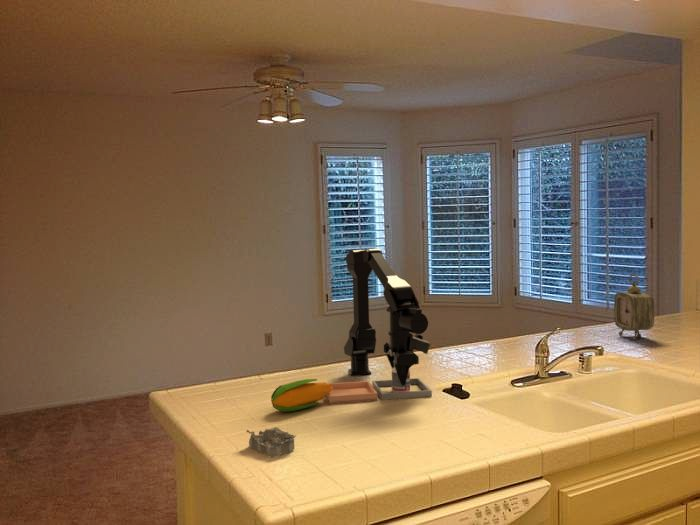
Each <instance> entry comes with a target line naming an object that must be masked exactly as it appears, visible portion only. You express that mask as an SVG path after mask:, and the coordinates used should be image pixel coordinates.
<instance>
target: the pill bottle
mask: <svg viewBox="0 0 700 525" xmlns="http://www.w3.org/2000/svg"><path fill="white" fill-rule="evenodd" d="M394 362H395V361H394ZM410 369H411V368H410ZM410 369H409V372H408V376H407V380H406V384H405V385H401V383H400V380H399V378H398V375H397V372H396V369H395V367H394V368H393V369H392V368H391V380H392V386H391V391H392V393H393V392H408V391H411V384H410V379H411V371H410Z"/></svg>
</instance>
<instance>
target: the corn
mask: <svg viewBox="0 0 700 525" xmlns="http://www.w3.org/2000/svg"><path fill="white" fill-rule="evenodd" d="M315 381H318V378H307V379H301V380H296V381H293V382H289V383H286V384H281V385H279V386H277V387H276V388H275V390H274V391H273V392H272V394H271V398H270V402H271V405H272V407H273V408H274V409H275V410H277V411H279V412H283V413H291V412H295V411H298V410H304V409H308V408H311V407H312V406H315V405H317V404H319V401H321V400H323V399H324V398H326V397H327V396H326V395H327V394H329V393H330V392H331V391H332V390H333V386H331V385H329V384H330V383H327V382H315Z"/></svg>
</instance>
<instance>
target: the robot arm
mask: <svg viewBox="0 0 700 525" xmlns="http://www.w3.org/2000/svg"><path fill="white" fill-rule="evenodd" d="M345 262H346V268H347V271H348V273H349V274H350V276H351V278H352V298H353V299H352V300H353V323H352V325H351V327H350V329H349V331H348V339H347V341H346V342H345V345H344V347H343V352H344V355H346V356H349V357H350V368H349V369H348V372H349V374H350V376H357V375H358V376H359V375H360V376H362V375H363V376H364V375H371V374H372V371H371V370H370V367H369V355H370V354H372V355H373V354H375V351H376V344H377V338H376V333H377V332H376V329H375V328H373V326H372V325H371V323H370V303H369V302H370V300H369V299H370V298H369V297H370V296H369V295H370V293H369V277H370V275H371V273H372V271H373V273H374V275H375V276H376V278H377V279H378V281H379V282H380V284H381V286H382V288H383V293H382V295H383V297H384V299H385V301H386V303H387V304H388V305H389V306H388V307H386V310H385V311H386V312H388V313H389V330H388V336H389V340H390V341H387V342H385V343H384V344H383V352H384V353H385V354H386V358H387V361H388V362H389V365H390V366H391V370H392V369H393V368H394V367H395V369H396V372H397V375H398V378H399V380H400V383H401V385H405V384H406V380H407V376H408V372H409V369H411V367H412V366H414V365H418V364H420V358H419V357H420V356H418V355H417V353H416V352H415V351H418V352H422V353H423V354H426V355H427V354H428V352H429V350H430V346H431V342H429V341H428V340H426V339H424V337H423V335H422V334H424V333H425V332H426V331H427V329H428V326H429V320H428V318H427V316H426V315H425V314H424V313H422V312H423V310H422V309H421V307H420V302H419V300H418V298H417V297H416V294H415V292H414V290H413V287H412V286H411V285H410V284H409V283H408V282H407V281H406V280H405V279H403V278H400V277H399V276H398V275H397V274H396V273H395V271H394V270H393V268H392V267H391V265H390V264H389V262H388V261H387V260H386V258H385V256H384V254H383V251H382V249H380V248H366V249H350V250H349V251H348V253H347V254H346V256H345ZM414 334H415V335H414ZM414 350H415V351H414ZM394 361H395V362H394Z"/></svg>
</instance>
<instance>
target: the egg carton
mask: <svg viewBox="0 0 700 525" xmlns="http://www.w3.org/2000/svg"><path fill="white" fill-rule="evenodd" d="M246 433H248V435H250V434H251V435H250V437H249V440H248V443H249V444H248V445H249V449H250V450H251V449H252V450H254V449H255V450H257V452H258V453H260V454H263V453H262V452H264V453H265V452H267V453H266V456H267V457H268V456H270V457H269V458H271V456H272V457H275V456H277V457H276V458H278V456H279V457H281V456H282V454H284V453H294V450H295V438H296V437H297V435H294V434H291V433H289V432H288V431H284V430H281V429H280V428H279V427H271V428H269V429H265V430H264V431H262V430H259V432H258V434H255V431H251V430H249V429H247V430H246ZM265 441H266V442H265ZM269 442H270V444H269ZM283 452H284V453H283Z"/></svg>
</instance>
